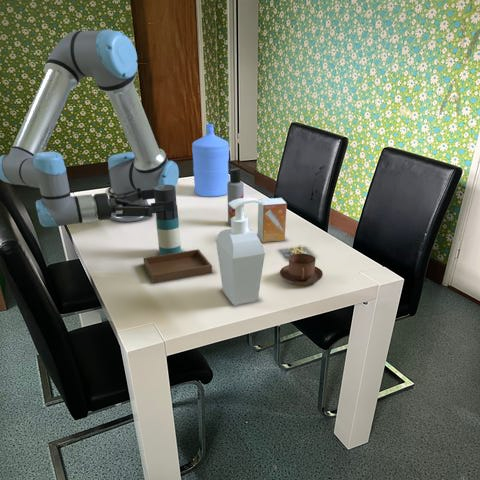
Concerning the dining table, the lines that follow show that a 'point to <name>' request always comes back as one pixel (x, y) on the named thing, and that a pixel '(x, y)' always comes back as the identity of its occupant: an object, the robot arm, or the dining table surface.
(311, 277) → the cup and saucer
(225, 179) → the water jug
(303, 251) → the dice set
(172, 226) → the capped bottle
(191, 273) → the tray
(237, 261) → the soap bottle
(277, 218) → the small box
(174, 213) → the cap
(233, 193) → the lotion bottle
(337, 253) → the dining table surface
